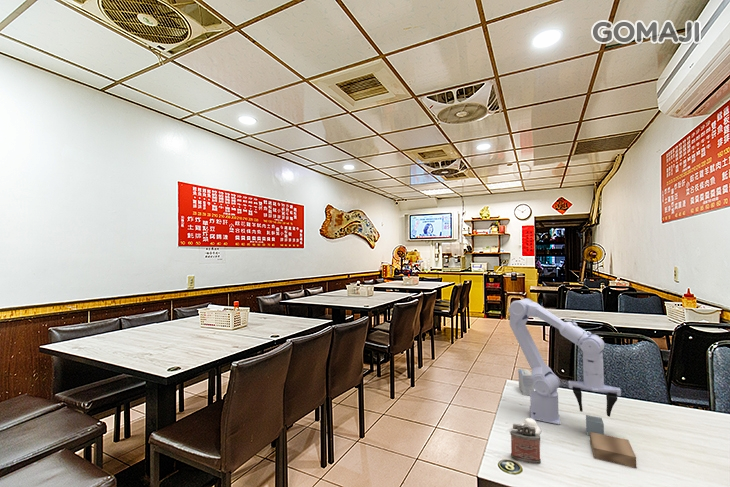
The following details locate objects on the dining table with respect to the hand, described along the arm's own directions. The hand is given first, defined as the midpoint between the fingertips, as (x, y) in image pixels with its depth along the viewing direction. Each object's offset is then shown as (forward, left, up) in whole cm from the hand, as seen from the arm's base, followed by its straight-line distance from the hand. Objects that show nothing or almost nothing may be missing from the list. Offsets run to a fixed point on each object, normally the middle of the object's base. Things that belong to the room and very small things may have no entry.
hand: (594, 412), depth 113 cm
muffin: (-19, -14, -7) cm, 25 cm away
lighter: (-20, -26, -7) cm, 34 cm away
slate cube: (0, 0, -7) cm, 7 cm away
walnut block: (+3, -11, -7) cm, 13 cm away
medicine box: (-22, +27, -7) cm, 36 cm away
